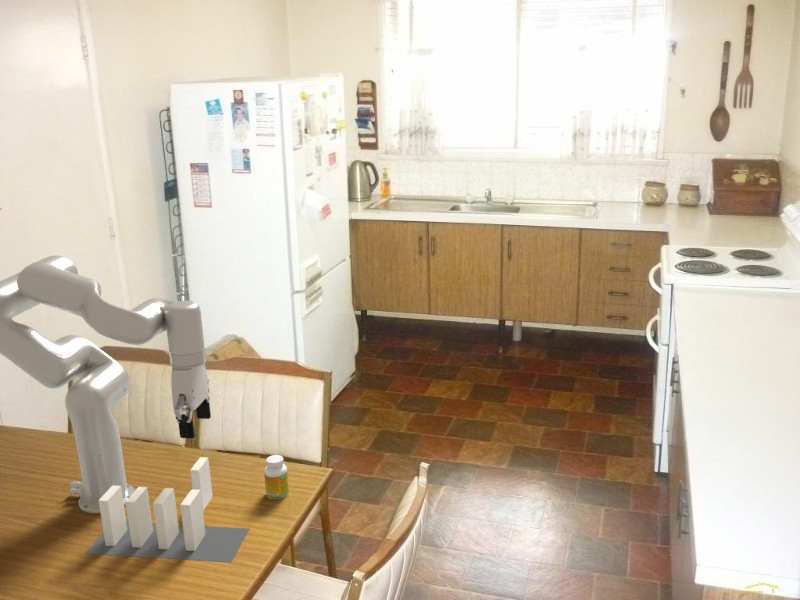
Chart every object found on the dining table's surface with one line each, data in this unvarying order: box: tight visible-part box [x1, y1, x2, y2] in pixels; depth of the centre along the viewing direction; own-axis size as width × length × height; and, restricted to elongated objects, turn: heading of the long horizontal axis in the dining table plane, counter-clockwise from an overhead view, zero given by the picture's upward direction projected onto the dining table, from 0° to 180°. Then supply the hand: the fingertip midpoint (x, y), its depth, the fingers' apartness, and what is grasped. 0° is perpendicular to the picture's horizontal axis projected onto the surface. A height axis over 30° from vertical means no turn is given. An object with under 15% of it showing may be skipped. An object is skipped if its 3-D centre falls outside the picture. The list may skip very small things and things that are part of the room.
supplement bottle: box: [263, 454, 290, 500], centre depth 181 cm, size 5×5×10 cm
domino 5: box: [180, 489, 205, 551], centre depth 162 cm, size 2×6×11 cm, turn 173°
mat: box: [85, 521, 250, 563], centre depth 164 cm, size 32×12×1 cm, turn 83°
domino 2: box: [125, 486, 153, 548], centre depth 163 cm, size 2×6×11 cm, turn 173°
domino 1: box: [99, 485, 127, 546], centre depth 164 cm, size 2×6×11 cm, turn 173°
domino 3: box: [152, 487, 179, 549], centre depth 163 cm, size 2×6×11 cm, turn 173°
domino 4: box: [189, 456, 213, 511], centre depth 177 cm, size 2×6×11 cm, turn 173°
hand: (196, 427), depth 173 cm, fingers open, 9 cm apart
